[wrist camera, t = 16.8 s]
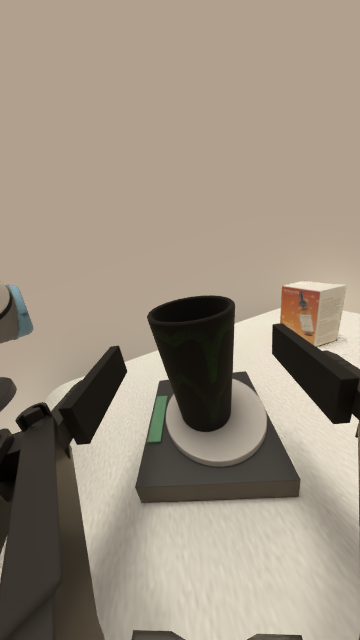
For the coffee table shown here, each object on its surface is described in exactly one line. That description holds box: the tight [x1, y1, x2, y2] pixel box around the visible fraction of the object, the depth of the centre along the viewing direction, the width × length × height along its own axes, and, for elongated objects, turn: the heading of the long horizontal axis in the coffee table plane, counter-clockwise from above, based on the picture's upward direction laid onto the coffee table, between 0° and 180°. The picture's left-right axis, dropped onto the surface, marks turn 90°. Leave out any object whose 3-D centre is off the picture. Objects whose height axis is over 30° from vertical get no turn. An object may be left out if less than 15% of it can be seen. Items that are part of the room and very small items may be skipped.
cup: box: [147, 296, 235, 432], centre depth 17 cm, size 8×8×12 cm
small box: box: [280, 281, 346, 347], centre depth 33 cm, size 8×6×10 cm
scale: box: [135, 371, 300, 502], centre depth 20 cm, size 13×13×3 cm
